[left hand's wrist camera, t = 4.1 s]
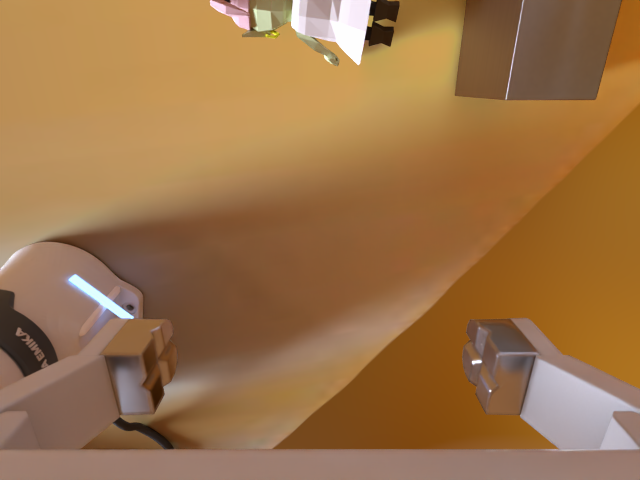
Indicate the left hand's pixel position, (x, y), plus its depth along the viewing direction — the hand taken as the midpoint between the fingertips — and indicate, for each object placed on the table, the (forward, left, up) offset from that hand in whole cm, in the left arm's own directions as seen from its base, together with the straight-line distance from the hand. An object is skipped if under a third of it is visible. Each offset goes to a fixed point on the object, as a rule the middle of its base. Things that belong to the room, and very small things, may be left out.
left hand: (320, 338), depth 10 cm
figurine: (+13, +1, -31) cm, 34 cm away
